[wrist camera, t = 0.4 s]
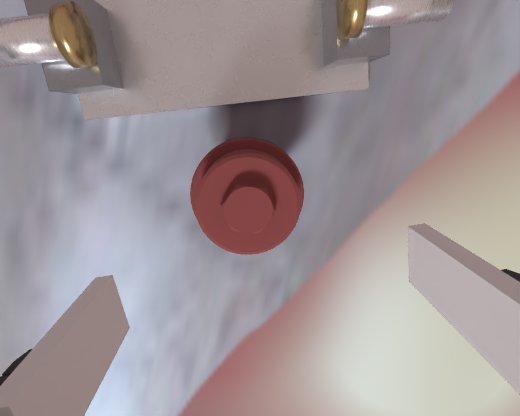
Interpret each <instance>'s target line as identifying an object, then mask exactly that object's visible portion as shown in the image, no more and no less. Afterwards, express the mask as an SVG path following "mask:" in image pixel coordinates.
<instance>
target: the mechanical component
mask: <svg viewBox="0 0 520 416" xmlns="http://www.w3.org/2000/svg"><path fill="white" fill-rule="evenodd" d="M190 195H191V204H192V208H193V211H194V214H195V216H196V218H197V220H198V222H199V224H200V226H201V228H202V230H203V232H204V233H205V234H206V235H207V237H208V238H209V239H210V240H211V241H212V242H213V243H215V244H216V245H218V246H219V247H221V248H223V249H225V250H227V251H230V252H233V253H237V254H258V253H262V252H266V251H268V250H270V249H273V248H274V247H276V246H278V245H279V244H280V243H282V242H283V241H284V240H285V239H286V238H287V237H288V236H289V235H290V233H291V232H292V230H293V229H294V227H295V225H296V223H297V221H298V217H299V214H300V212H301V209H302V205H303V199H304V188H303V182H302V178H301V175H300V173H299V170H298V168H297V166H296V165H295V163H294V162H293V160H292V159H291V158H290V157H289V156H288V155H287V154H286V153H285V152H284V151H283V150H282V149H280V148H279V147H278V146H276V145H274V144H272V143H270V142H268V141H265V140H262V139H258V138H249V137H244V138H236V139H232V140H229V141H226V142H224V143H222V144H220V145H218V146H216V147H215V148H214V149H212V150H211V151H210V152H209V153H208V154H207V155H206V156H205V157H204V158H203V160H202V161H201V162H200V164H199V165H198V167H197V169H196V171H195V173H194V176H193V179H192V183H191V192H190Z"/></svg>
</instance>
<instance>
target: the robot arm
mask: <svg viewBox="0 0 520 416" xmlns="http://www.w3.org/2000/svg"><path fill="white" fill-rule="evenodd" d="M408 257H409V282H410V283H411V284H412V285H413V286H414V287H415V288H416V289H417V290H418V291H419V292H420V293H421V294H422V295H423V296H424V297H425V298H426V299H427V300H428V301H429V302H430V303H431V304H432V305H433V306H434V307H435V308H436V309H437V311H438V312H439V313H440V314H441V315H442V316H443V317H444V318H445V319H446V320H447V321H448V322H449V323H450V324H451V325H452V326H453V327H454V328H455V329H456V330H457V331H458V332H459V333H460V334H461V335H462V336H463V337H464V338H465V339H466V340H467V341H468V342H469V343H470V344H471V345H472V346H473V347H474V348H475V349H476V350H477V351H478V352H479V353H480V355H481V356H483V357H484V359H485V360H486V361H487V362H488V363H489V364H490V365H491V366H492V367H493V368H494V369H495V370H496V371H497V372H498V373H499V374H500V375H501V376H502V377H503V378H504V379H505V380H506V381H507V382H508V383H509V384H510V385H511V386H512V387H513V388H514V389H515V390H516V391H517V392H518V393H519V394H520V274H519V273H516V272H513V271H510V270H507V269H504V270H499V269H498V268H496V267H494V266H493V265H491V264H490V263H488V262H486V261H485V260H483V259H482V258H480V257H478V256H477V255H475V254H473V253H472V252H470V251H469V250H467V249H465V248H464V247H462V246H461V245H459V244H457V243H456V242H454V241H452V240H451V239H449V238H448V237H446V236H444V235H443V234H441V233H439V232H438V231H436V230H435V229H433V228H431V227H430V226H428V225H426V224H419V225H413V226H408ZM128 330H129V324H128V321H127V318H126V315H125V312H124V309H123V306H122V303H121V300H120V297H119V293H118V290H117V287H116V284H115V281H114V278H113V275H110V276H104V277H98V278H95V279H94V280H93V281H92V282H91V283H90V285H89V286H88V287H87V288H86V289H85V290H84V291H83V293H82V294H81V295H80V296H79V297H78V298H77V299H76V301H75V302H74V303H73V304H72V305H71V306H70V307H69V308H68V310H67V311H66V312H65V313H64V314H63V315H62V316H61V318H60V319H59V320H58V321H57V322H56V323H55V324H54V326H53V327H52V328H51V329H50V330H49V331H48V332H47V333H46V335H45V336H44V337H43V338H42V339H41V340H40V341H39V343H38V344H37V345H36V346H35V347H34V348H33V349H30V350H28V351H27V352H26V353H24V354H23V355H22V356H20V357H19V358H18V359H16V360H15V361H14V362H13V363H12V364H11V365H10V366H9V367H8V368H7V370H6V371H5V372H4V373H3V374H2V376H1V377H0V416H84V415H85V413H86V411H87V409H88V407H89V405H90V403H91V401H92V399H93V397H94V396H95V394H96V392H97V390H98V388H99V386H100V384H101V382H102V380H103V378H104V376H105V374H106V372H107V370H108V369H109V367H110V365H111V363H112V361H113V359H114V357H115V355H116V353H117V351H118V349H119V347H120V345H121V344H122V342H123V340H124V338H125V336H126V334H127V332H128Z"/></svg>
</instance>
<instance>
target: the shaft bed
mask: <svg viewBox="0 0 520 416" xmlns="http://www.w3.org/2000/svg"><path fill="white" fill-rule="evenodd" d="M24 2H25V6H26V9H27V13H28V16H20V17H10V18H1V19H0V68H1V67H11V66H20V65H29V64H39V63H41V64H42V67H43V71H44V74H45V78H46V82H47V85H48V89H49V91H53V92H63V93H73V94H78V97H79V101H80V104H81V108H82V112H83V116H84V120H92V119H101V118H110V117H119V116H128V115H137V114H146V113H155V112H164V111H174V110H183V109H192V108H201V107H210V106H219V105H228V104H237V103H246V102H255V101H264V100H273V99H282V98H291V97H300V96H309V95H318V94H328V93H337V92H346V91H355V90H364V89H369V83H368V62H371V61H373V60H376V59H378V58H381V57H384V56H386V55H389V54H390V26H394V25H403V24H413V23H422V22H431V21H441V20H443V19H444V18H446V17H447V15H448V14H449V12H450V11H451V9H452V6H453V4H454V0H24Z"/></svg>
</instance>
